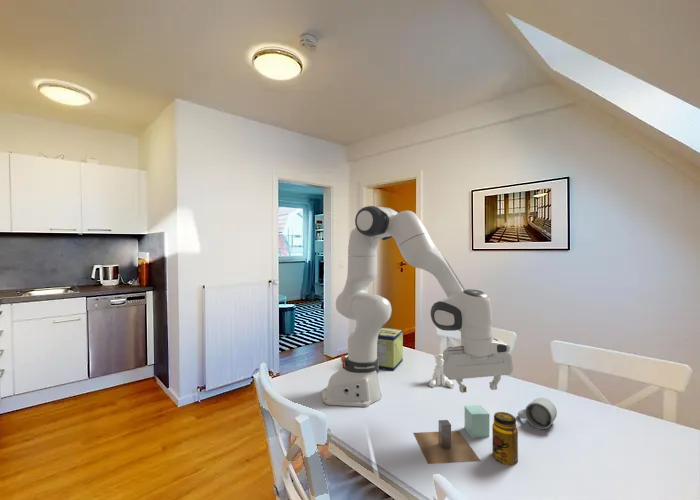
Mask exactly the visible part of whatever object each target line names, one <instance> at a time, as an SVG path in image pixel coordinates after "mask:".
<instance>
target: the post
mask: <svg viewBox="0 0 700 500" xmlns="http://www.w3.org/2000/svg"><path fill="white" fill-rule="evenodd" d="M451 431H452V424H451V423H450V422H449V420H448V419H439V420H438V432H439V445H440V447H441V448H442V449H451Z"/></svg>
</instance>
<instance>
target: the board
mask: <svg viewBox="0 0 700 500" xmlns="http://www.w3.org/2000/svg"><path fill="white" fill-rule="evenodd" d="M413 435H414V438H415V439H416V442H417V444H418V446H419V448H420V450H421V452H422V454H423V456H424V459H425V461H426V463H427V464H428V465H432V464H434V465H435V464H450V463H454V464H455V463H470V462H473V463H475V462H481V461H482V460H481V459H480V458H479V456H478V455H477V454H476V452H475V451H474V449H473V448H472V447H471V445H470V444H469V442H468V441H467V439H466V438H465V437H464V436H463V434H462V433H461V432H460V430H451V449H442V448H441V447H440V445H439V431H424V432H421V431H419V432H413Z"/></svg>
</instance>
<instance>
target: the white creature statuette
mask: <svg viewBox="0 0 700 500" xmlns="http://www.w3.org/2000/svg"><path fill="white" fill-rule="evenodd" d="M433 357H434V358H435V359H434V360H435V363H436V365H435V367H434V369H433V370H434V372H433V374H432V378H431V379H430V381H429V386H430V387H431V388H434V387H447V388H450V389H453V388H454V387H455V385H454V383H453V380H449V379H448V378H447V377H446V376H445V375H444V373H443V364H444V360H443V353H440V354H437V355H436V354H433Z"/></svg>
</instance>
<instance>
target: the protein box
mask: <svg viewBox="0 0 700 500" xmlns="http://www.w3.org/2000/svg"><path fill="white" fill-rule="evenodd" d="M403 331H404V330H403V329H401V328H400V329H399V328H390V327H381V329H380V331H379V334H378V339H377V358H378V364H379V369H380V370H385V371H386V370H387V371H392V372H394V371H395V370H396V369H397V368H398V367H399V366H400V364H401V363H402V362H403V355H404V354H403V352H404V351H403V347H404V346H403V345H404V344H403V343H404V338H403V337H404V336H403V335H404V333H403ZM379 369H378V370H379Z"/></svg>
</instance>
